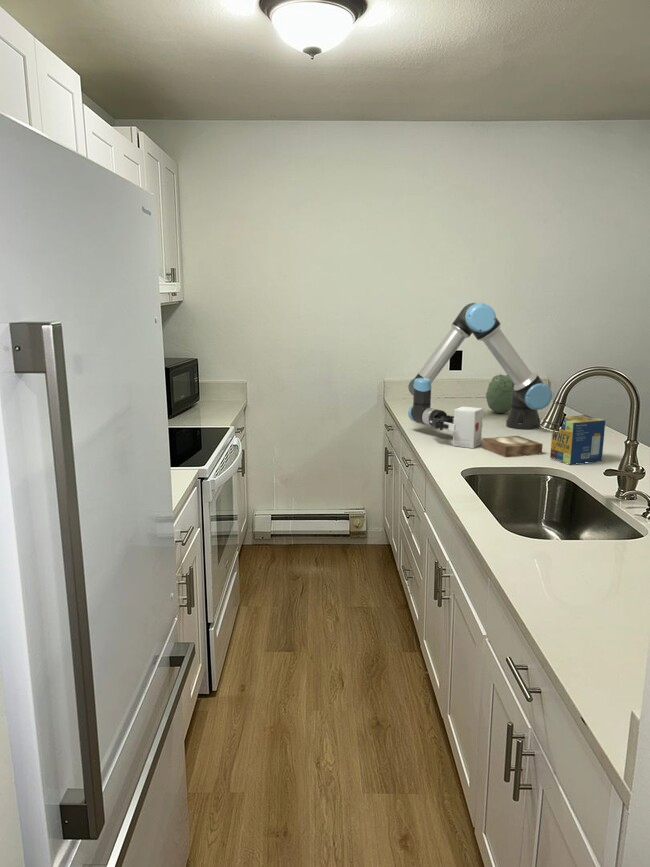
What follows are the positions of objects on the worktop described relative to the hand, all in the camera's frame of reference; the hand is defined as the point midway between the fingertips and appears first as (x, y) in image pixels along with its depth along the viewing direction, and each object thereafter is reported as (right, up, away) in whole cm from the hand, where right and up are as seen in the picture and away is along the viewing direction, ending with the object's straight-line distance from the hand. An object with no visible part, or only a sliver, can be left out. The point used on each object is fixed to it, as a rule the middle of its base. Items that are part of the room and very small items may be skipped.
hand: (468, 426), depth 271 cm
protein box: (+35, -13, -21) cm, 43 cm away
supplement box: (0, -8, +3) cm, 8 cm away
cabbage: (+33, +7, +77) cm, 84 cm away
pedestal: (+15, -10, -7) cm, 19 cm away
